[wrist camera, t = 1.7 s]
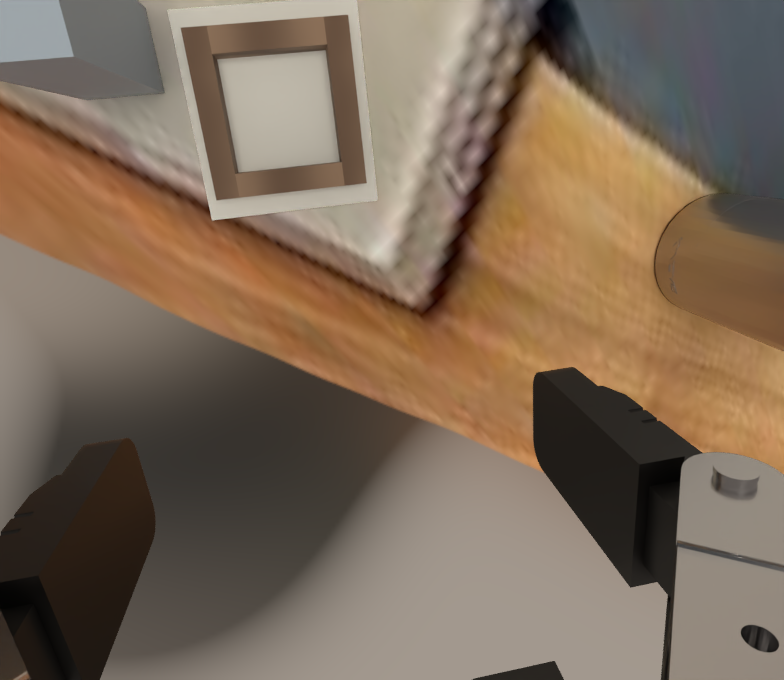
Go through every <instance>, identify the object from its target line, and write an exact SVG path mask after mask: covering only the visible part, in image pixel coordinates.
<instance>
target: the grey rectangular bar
mask: <svg viewBox="0 0 784 680" xmlns="http://www.w3.org/2000/svg"><path fill="white" fill-rule="evenodd" d="M0 81H4V82H8V83H13V84H17V85H22V86H26V87H31V88H35V89H40V90H44V91H49V92H53V93H57V94H62V95H66V96H71V97H75V98H80V99H84V100H93V99H104V98H115V97H126V96H137V95H148V94H159V93H164V88H163V84H162V79H161V75H160V71H159V66H158V62H157V57H156V53H155V48H154V44H153V39H152V35H151V31H150V26H149V22H148V17H147V13H146V8H145V7H144V6H143V5H142V4H140V3H139V2H138V1H137V0H0Z"/></svg>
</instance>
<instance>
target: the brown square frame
mask: <svg viewBox="0 0 784 680" xmlns="http://www.w3.org/2000/svg"><path fill="white" fill-rule="evenodd" d="M181 32H182V37H183V42H184V47H185V52H186V56H187V61H188V66H189V71H190V76H191V81H192V85H193V90H194V95H195V100H196V105H197V109H198V114H199V119H200V124H201V129H202V133H203V138H204V143H205V148H206V153H207V158H208V162H209V167H210V172H211V177H212V182H213V186H214V191H215V196H216V200H224V199H233V198H242V197H251V196H259V195H268V194H277V193H286V192H294V191H303V190H312V189H320V188H329V187H338V186H347V185H355V184H364V183H367V181H366V172H365V163H364V154H363V145H362V136H361V127H360V118H359V109H358V100H357V91H356V82H355V73H354V64H353V55H352V46H351V36H350V27H349V18H348V15H337V16H324V17H311V18H299V19H286V20H273V21H260V22H247V23H234V24H221V25H209V26H196V27H183V28H181ZM322 50H326V57H327V65H328V73H329V81H330V89H331V97H332V105H333V113H334V121H335V129H336V137H337V145H338V153H339V160H340V162H332V163H322V164H313V165H304V166H295V167H286V168H277V169H267V170H258V171H249V172H240V173H239V172H238V167H237V161H236V156H235V151H234V146H233V140H232V135H231V130H230V125H229V119H228V114H227V109H226V103H225V98H224V93H223V88H222V82H221V77H220V72H219V67H218V61H217V59H228V58H239V57H251V56H263V55H275V54H286V53H298V52H310V51H322Z"/></svg>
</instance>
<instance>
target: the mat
mask: <svg viewBox="0 0 784 680" xmlns="http://www.w3.org/2000/svg"><path fill="white" fill-rule="evenodd" d="M167 12H168V16H169V21H170V26H171V30H172V35H173V40H174V44H175V49H176V54H177V59H178V63H179V68H180V73H181V77H182V82H183V87H184V91H185V96H186V101H187V105H188V110H189V115H190V120H191V124H192V129H193V134H194V138H195V143H196V148H197V152H198V157H199V162H200V166H201V171H202V176H203V181H204V185H205V190H206V195H207V199H208V204H209V209H210V213H211V218H212V220H219V219H227V218H236V217H244V216H253V215H261V214H270V213H278V212H286V211H295V210H303V209H312V208H320V207H329V206H337V205H346V204H354V203H362V202H371V201H378V195H377V185H376V176H375V166H374V157H373V147H372V138H371V128H370V119H369V109H368V100H367V90H366V80H365V71H364V61H363V52H362V42H361V33H360V23H359V14H358V4H357V0H289V1H275V2H261V3H248V4H234V5H221V6H207V7H194V8H180V9H167ZM337 15H348V18H349V27H350V36H351V46H352V55H353V64H354V73H355V82H356V91H357V100H358V109H359V118H360V127H361V136H362V145H363V154H364V163H365V172H366V181H367V183H364V184H355V185H347V186H338V187H329V188H320V189H312V190H303V191H294V192H286V193H277V194H268V195H259V196H251V197H242V198H233V199H224V200H216V196H215V191H214V186H213V182H212V177H211V172H210V167H209V162H208V158H207V153H206V148H205V143H204V138H203V133H202V129H201V124H200V119H199V114H198V109H197V105H196V100H195V95H194V90H193V85H192V81H191V76H190V71H189V66H188V61H187V56H186V52H185V47H184V42H183V37H182V32H181V28H183V27H196V26H209V25H221V24H234V23H247V22H260V21H273V20H286V19H299V18H311V17H324V16H337ZM217 61H218V67H219V72H220V77H221V82H222V88H223V93H224V98H225V103H226V109H227V114H228V119H229V125H230V130H231V135H232V140H233V146H234V151H235V156H236V161H237V167H238V172H239V173H240V172H249V171H258V170H267V169H277V168H286V167H295V166H304V165H313V164H322V163H332V162H340V160H339V153H338V145H337V137H336V129H335V121H334V113H333V105H332V97H331V89H330V81H329V73H328V65H327V57H326V50H322V51H310V52H298V53H286V54H275V55H263V56H251V57H239V58H228V59H217Z"/></svg>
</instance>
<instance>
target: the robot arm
mask: <svg viewBox="0 0 784 680" xmlns="http://www.w3.org/2000/svg"><path fill="white" fill-rule="evenodd" d="M655 272H656V278H657V282H658V285H659V287H660V289H661V291H662V293H663V294H664V296H665V297H666V298H667V299H668V300H669V301H670V302H671V303H673V304H675V305H676V306H678V307H680V308H682V309H684V310H687V311H689V312H691V313H694V314H696V315H699V316H701V317H703V318H706V319H708V320H711V321H712V322H715V323H717V324H719V325H722V326H724V327H727V328H729V329H731V330H734V331H736V332H739V333H741V334H743V335H746V336H748V337H750V338H753V339H755V340H758V341H760V342H762V343H765V344H767V345H770V346H772V347H774V348H777V349H779V350H781V351H784V199H775V198H767V197H757V196H748V195H738V194H728V193H719V194H711V195H708V196H705V197H702V198H699V199H698V200H696V201H694V202H692V203H691V204H689V205H688V206H686V207H685V208H684V209H683V210H682V211H681V212H679V213H678V214H677V215H676V217H675V218H674V219H673V220H672V221H671V223H670V224H669V225H668V227H667V229H666V230H665V232H664V234H663V236H662V238H661V241H660V243H659V246H658V249H657V254H656V260H655ZM533 440H534V448H535V453H536V456H537V459H538V462H539V464H540V466H541V468H542V470H543V471H544V473H545V474H546V475H547V477H548V478H549V479H550V481H551V482H552V483H553V485H554V486H555V487H556V489H557V490H558V491H559V493H560V494H561V495H562V497H563V498H564V499H565V501H566V502H567V503H568V505H569V506H570V507H571V509H572V510H573V511H574V513H575V514H576V515H577V517H578V518H579V519H580V521H581V522H582V523H583V525H584V526H585V527H586V529H587V530H588V531H589V533H590V534H591V535H592V536H593V538H594V539H595V541H596V542H597V543H598V545H599V546H600V547H601V549H602V550H603V551H604V553H605V554H606V555H607V557H608V558H609V559H610V561H611V562H612V563H613V565H614V566H615V568H616V569H617V570H618V571H619V573H620V574H621V576H622V577H623V578H624V579H625V581H626V582H627V583H628V585H629V586H630V587H635V586H639V585H645V584H649V583H654V582H658V583H659V584H660V586H661V587H662V588H663V589H664V591H665V592H666V593H667V594H668V599H667V609H666V621H665V635H664V647H663V659H662V672H661V680H784V475H783V474H782V473H781V472H779V471H778V470H776V469H775V468H773V467H771V466H770V465H768V464H765V463H763V462H761V461H758V460H756V459H753V458H750V457H746V456H742V455H737V454H732V453H722V452H710V453H702V452H700V451H699V450H698V449H696V448H695V447H694V446H692V445H691V444H690V443H689V442H687V441H686V440H685V439H683V438H682V437H681V436H679V435H678V434H677V433H675V432H674V431H673V430H671V429H670V428H669V427H667V426H666V425H665V424H664V423H662V422H661V421H657V419H656V417H654V416H653V415H652V414H650V413H649V412H648V411H646V410H644V411H643V408H642V407H641V406H640V405H639V404H637V403H636V402H635V401H633V400H632V399H631V398H629V397H628V396H627V395H625V394H622V393H620V392H617V391H614V390H612V389H609V388H607V387H604V386H597V385H596V384H594V383H593V382H592V381H591V380H589V379H588V378H587V377H586V376H584V375H583V374H582V373H581V372H579V371H578V370H577V369H576V368H573V367H570V368H563V369H557V370H551V371H544V372H538V373H536V375H535V377H534V381H533ZM14 516H15V518H14V519H11V520H10V521H9V522H8V523H7V525H6V526H5V527H4V529H3V530H2V531H1V536H0V680H100V678H101V675H102V672H103V670H104V667H105V665H106V662H107V659H108V657H109V654H110V651H111V649H112V646H113V644H114V641H115V639H116V636H117V633H118V631H119V628H120V626H121V623H122V620H123V617H124V615H125V613H126V610H127V607H128V605H129V602H130V599H131V597H132V594H133V592H134V589H135V587H136V584H137V581H138V579H139V576H140V574H141V571H142V568H143V565H144V563H145V560H146V558H147V555H148V553H149V550H150V547H151V545H152V542H153V539H154V535H155V511H154V506H153V503H152V499H151V496H150V493H149V489H148V486H147V483H146V479H145V476H144V473H143V469H142V466H141V463H140V460H139V456H138V453H137V450H136V448H135V445H134V443H133V442H132V441H131V440H130V439H129V438H124V439H118V440H111V441H105V442H98V443H92V444H86V445H84V446H83V447H82V448H81V449H80V450H79V452H78V453H77V454H76V456H75V457H74V459H73V460H72V461H71V463H70V464H69V466H68V467H67V468H66V469H65V471H64V472H63V473H62V475H56V476H55V477H53V478H52V479H51V480H49V481H48V482H47V483H46V484H44V485H43V486H41V487H40V488H39V489H37V490H36V491H34V492H33V493H32V494H31V495H30V496H29V497H28V498H27V499H26V501H25V502H24V503H23V504H22V506H21V507H20V508H19V510H18V511H17V512H16V513H15V515H14ZM473 680H564V679H563V677H562V675H561V673H560V671H559V669H558V667H557V665H556V663H555V661H552V662H547V663H543V664H539V665H534V666H529V667H525V668H521V669H516V670H511V671H507V672H502V673H498V674H493V675H489V676H484V677H480V678H475V679H473Z"/></svg>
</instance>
